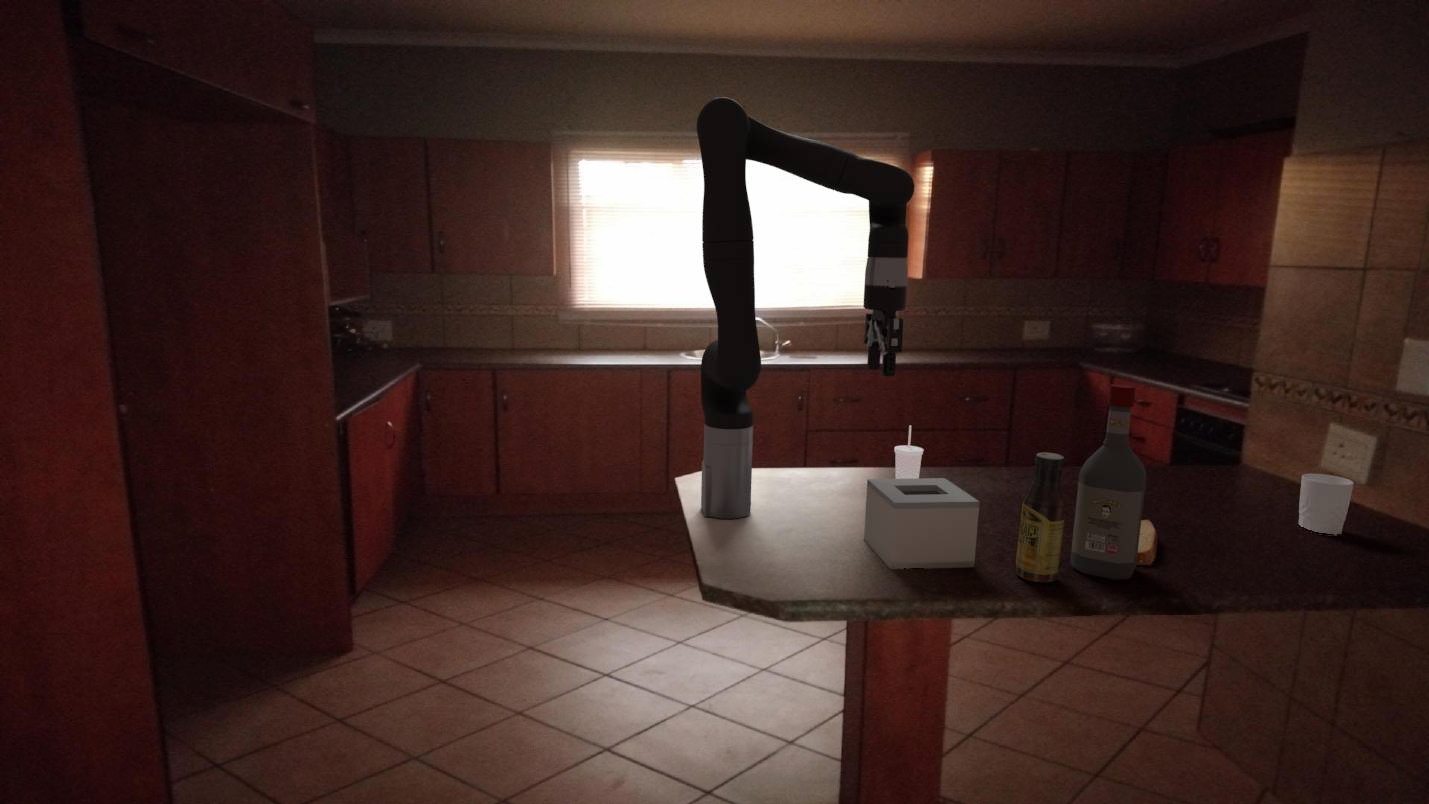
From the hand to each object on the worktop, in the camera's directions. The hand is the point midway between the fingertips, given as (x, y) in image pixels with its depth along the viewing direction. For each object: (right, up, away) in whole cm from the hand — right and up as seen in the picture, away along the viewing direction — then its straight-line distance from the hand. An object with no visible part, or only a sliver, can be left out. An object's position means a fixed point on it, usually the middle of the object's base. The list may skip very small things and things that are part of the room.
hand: (880, 372), depth 153 cm
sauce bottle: (+20, -33, -22) cm, 45 cm away
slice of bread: (+43, -31, -5) cm, 53 cm away
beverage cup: (+11, -24, +26) cm, 37 cm away
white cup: (+84, -30, +5) cm, 89 cm away
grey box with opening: (+4, -31, -12) cm, 33 cm away
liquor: (+33, -33, -18) cm, 49 cm away
